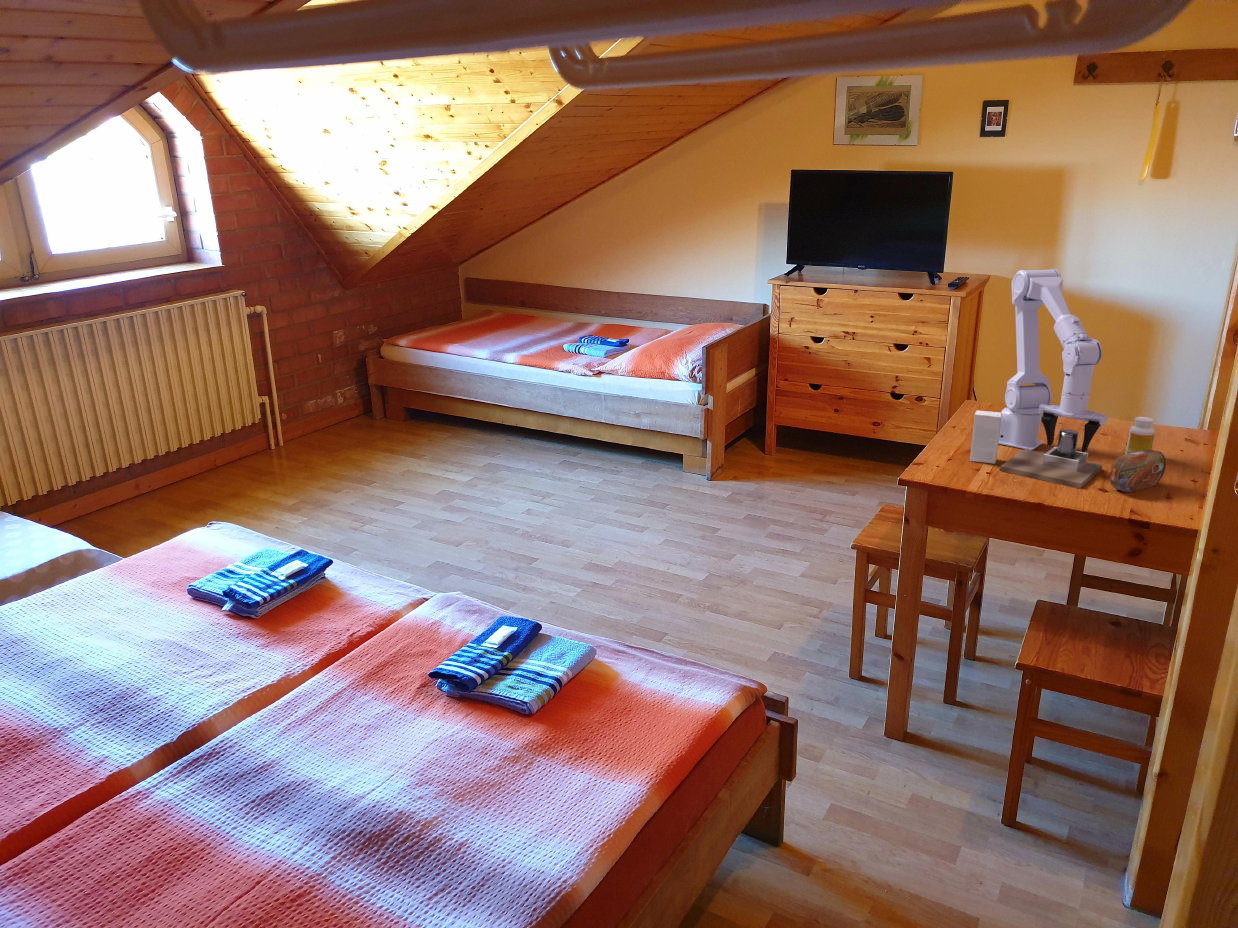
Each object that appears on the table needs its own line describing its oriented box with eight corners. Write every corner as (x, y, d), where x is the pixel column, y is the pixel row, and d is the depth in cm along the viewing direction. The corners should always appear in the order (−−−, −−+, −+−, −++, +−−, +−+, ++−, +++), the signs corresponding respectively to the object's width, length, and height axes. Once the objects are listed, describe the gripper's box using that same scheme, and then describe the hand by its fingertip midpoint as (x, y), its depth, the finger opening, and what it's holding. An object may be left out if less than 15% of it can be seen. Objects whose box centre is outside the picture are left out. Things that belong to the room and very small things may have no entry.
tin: (1116, 495, 202) (1122, 459, 199) (1104, 490, 204) (1110, 455, 201) (1163, 484, 207) (1170, 449, 204) (1151, 480, 210) (1157, 445, 207)
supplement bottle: (1153, 460, 222) (1160, 422, 218) (1129, 459, 223) (1135, 421, 219) (1145, 453, 227) (1152, 416, 223) (1122, 452, 228) (1128, 415, 224)
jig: (999, 470, 217) (1001, 456, 216) (1024, 453, 228) (1026, 439, 227) (1080, 488, 206) (1082, 473, 204) (1101, 469, 217) (1104, 454, 215)
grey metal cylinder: (1052, 464, 217) (1057, 432, 214) (1058, 459, 220) (1063, 428, 217) (1070, 467, 215) (1075, 435, 212) (1076, 463, 217) (1080, 431, 215)
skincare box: (996, 458, 225) (1002, 412, 221) (995, 464, 221) (1001, 417, 217) (970, 455, 227) (976, 409, 223) (968, 461, 224) (974, 414, 220)
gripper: (1037, 390, 213) (1029, 445, 218) (1104, 401, 204) (1094, 458, 208) (1047, 384, 218) (1039, 438, 223) (1113, 394, 209) (1103, 450, 213)
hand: (1066, 447), depth 216 cm, fingers open, 7 cm apart
